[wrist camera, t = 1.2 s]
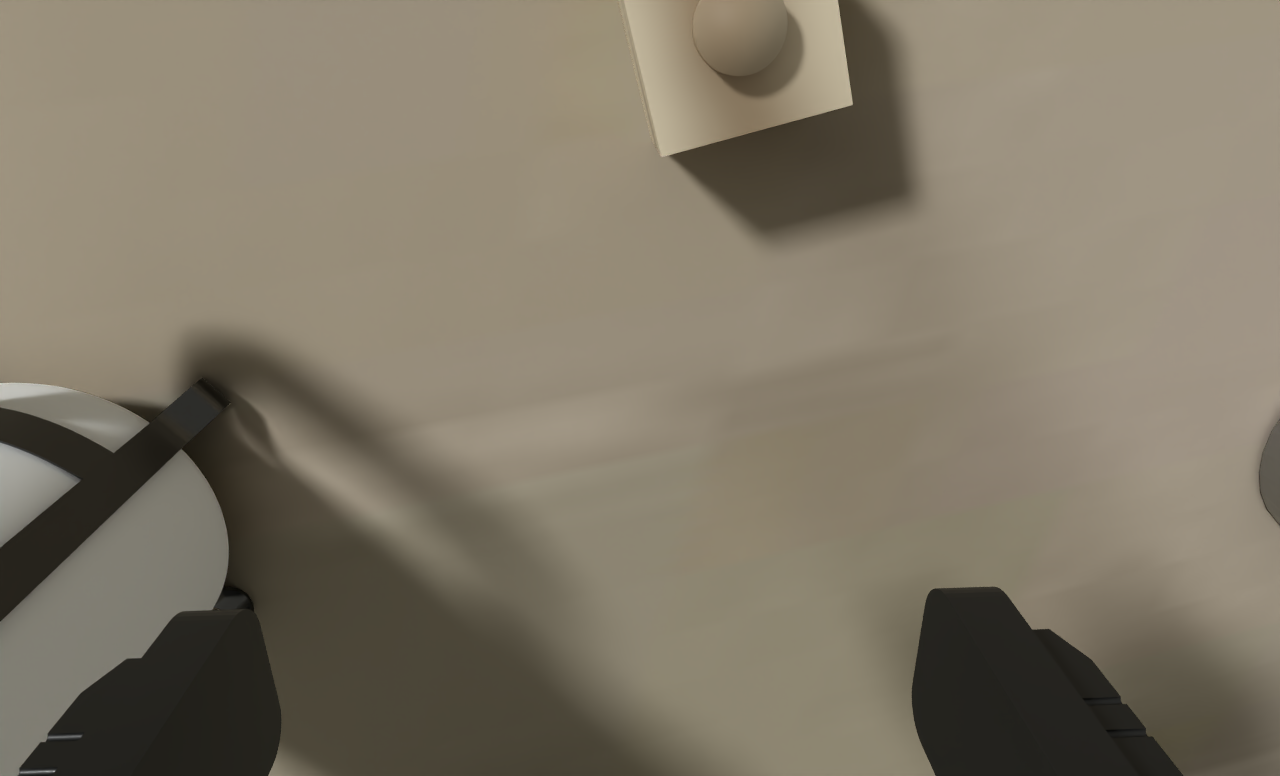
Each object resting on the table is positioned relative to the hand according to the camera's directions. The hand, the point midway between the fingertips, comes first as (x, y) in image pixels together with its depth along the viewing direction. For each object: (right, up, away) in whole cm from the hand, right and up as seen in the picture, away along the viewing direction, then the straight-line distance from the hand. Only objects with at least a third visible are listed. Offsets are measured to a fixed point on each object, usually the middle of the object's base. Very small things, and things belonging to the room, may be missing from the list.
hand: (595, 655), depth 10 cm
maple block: (+3, +15, +16) cm, 22 cm away
